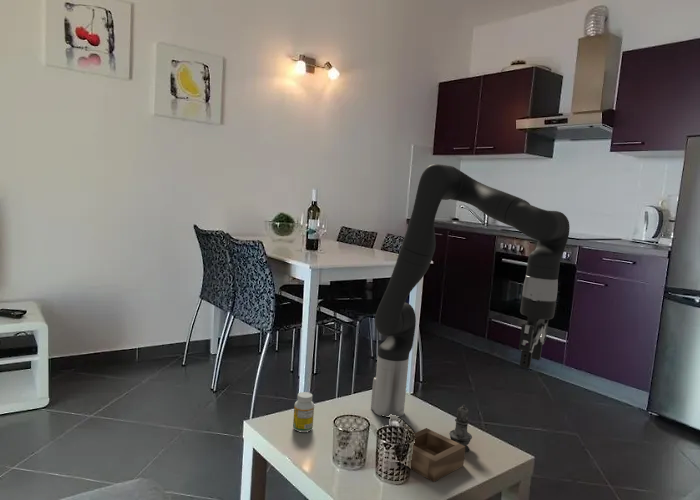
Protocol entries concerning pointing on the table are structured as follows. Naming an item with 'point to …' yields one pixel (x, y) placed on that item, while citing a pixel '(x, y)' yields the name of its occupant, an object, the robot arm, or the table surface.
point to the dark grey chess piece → (461, 428)
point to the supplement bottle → (303, 412)
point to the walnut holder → (435, 455)
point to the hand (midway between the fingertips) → (530, 363)
